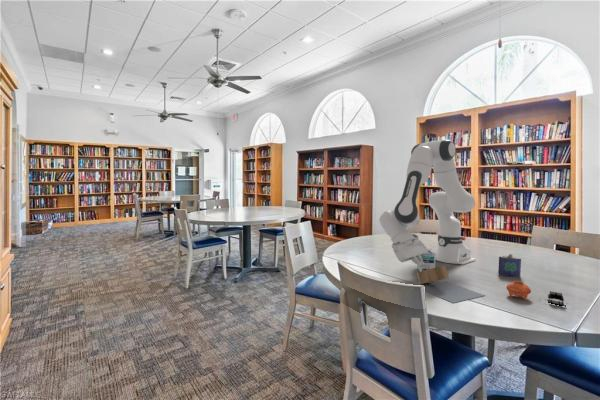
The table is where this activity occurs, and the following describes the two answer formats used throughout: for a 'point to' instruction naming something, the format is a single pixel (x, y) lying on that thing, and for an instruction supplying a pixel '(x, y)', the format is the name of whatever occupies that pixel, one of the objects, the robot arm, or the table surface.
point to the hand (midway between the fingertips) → (422, 265)
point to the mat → (451, 292)
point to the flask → (509, 266)
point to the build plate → (556, 296)
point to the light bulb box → (428, 261)
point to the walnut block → (432, 275)
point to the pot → (518, 289)
